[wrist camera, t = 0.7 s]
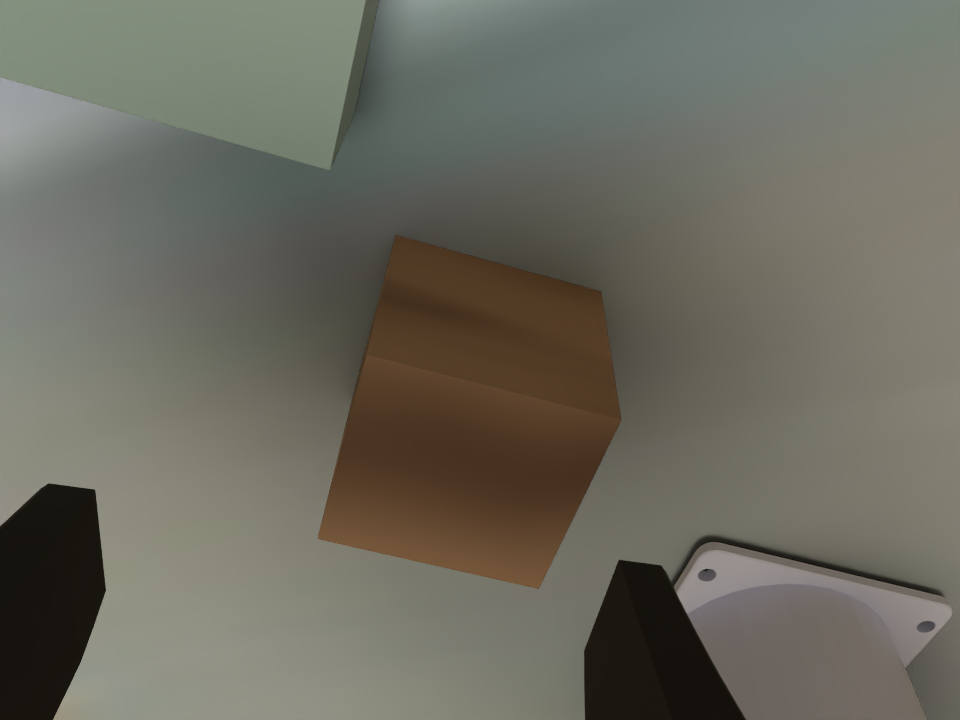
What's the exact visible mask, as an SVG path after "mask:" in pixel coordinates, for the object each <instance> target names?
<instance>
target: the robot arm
mask: <svg viewBox="0 0 960 720" xmlns="http://www.w3.org/2000/svg"><path fill="white" fill-rule="evenodd" d="M704 569H710V570H707V571H701V570H704ZM105 591H106V588H105V578H104V569H103V559H102V550H101V540H100V531H99V522H98V512H97V503H96V493H95V490H94V489H86V488H79V487H71V486H64V485H56V484H47V485H46V486H44V487H43V488H41V489H40V490H39V491H38V492H37V493H36V494H34V495H33V496H32V497H31V498H30V499H29V500H28V501H27V502H26V503H25V504H24V505H23V506H22V507H21V508H19V509H18V510H17V511H16V512H15V513H14V514H13V515H12V516H11V517H10V518H9V519H8V520H7V521H5V522H4V523H3V524H2V525H1V526H0V720H53V718H54V716H55V714H56V712H57V710H58V708H59V706H60V704H61V702H62V700H63V698H64V696H65V694H66V692H67V689H68V687H69V685H70V683H71V681H72V679H73V677H74V675H75V673H76V671H77V669H78V667H79V664H80V662H81V660H82V657H83V654H84V651H85V649H86V646H87V643H88V640H89V638H90V635H91V632H92V629H93V627H94V624H95V621H96V618H97V615H98V612H99V609H100V606H101V603H102V600H103V597H104V594H105ZM951 616H952V608H951V606H950V604H949V602H948V601H947V600H946V598H944V597H942V596H938V595H934V594H930V593H926V592H922V591H918V590H914V589H909V588H905V587H901V586H897V585H893V584H889V583H885V582H881V581H876V580H872V579H868V578H864V577H860V576H856V575H852V574H847V573H843V572H839V571H835V570H831V569H827V568H823V567H818V566H814V565H810V564H806V563H802V562H798V561H794V560H789V559H785V558H781V557H777V556H773V555H769V554H765V553H760V552H756V551H752V550H748V549H744V548H740V547H736V546H731V545H727V544H723V543H718V542H710V543H706V544H704V545H702V546H700V547H699V548H698V549H697V550H696V552H695V553H694V555H693V556H692V558H691V560H690V561H689V563H688V564H687V566H686V568H685V569H684V571H683V573H682V574H681V576H680V577H679V579H678V581H677V582H676V584H675V586H674V587H673V585H672V583H671V581H670V579H669V577H668V575H667V573H666V572H665V570H664V569H663V567H662V566H660V565H653V564H646V563H638V562H631V561H623V560H619V561H618V564H617V566H616V569H615V572H614V574H613V577H612V579H611V582H610V585H609V587H608V590H607V592H606V595H605V598H604V600H603V603H602V606H601V608H600V611H599V613H598V616H597V619H596V621H595V624H594V626H593V629H592V632H591V634H590V637H589V640H588V642H587V645H586V647H585V650H584V686H585V720H927V719H926V717H925V714H924V712H923V710H922V707H921V705H920V703H919V700H918V698H917V695H916V693H915V691H914V688H913V686H912V684H911V681H910V679H909V676H908V674H907V672H906V669H905V668H906V667H907V665H908V664H909V663H910V662H911V661H912V660H913V659H914V658H915V657H916V656H917V654H918V653H919V652H920V651H921V650H922V649H923V648H924V647H925V646H926V644H927V643H928V642H929V641H930V640H931V639H932V638H933V637H934V636H935V635H936V633H937V632H938V631H939V630H940V629H941V628H942V627H943V626H944V625H945V623H946V622H947V621H948V620H949V619H950V617H951Z"/></svg>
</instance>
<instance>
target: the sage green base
mask: <svg viewBox="0 0 960 720" xmlns="http://www.w3.org/2000/svg"><path fill="white" fill-rule="evenodd" d="M378 3H379V0H0V77H2V78H5V79H9V80H12V81H16V82H19V83H23V84H26V85H30V86H33V87H37V88H41V89H44V90H48V91H51V92H55V93H58V94H62V95H65V96H69V97H72V98H76V99H79V100H83V101H86V102H90V103H93V104H97V105H100V106H104V107H108V108H111V109H115V110H118V111H122V112H125V113H129V114H132V115H136V116H139V117H143V118H146V119H150V120H153V121H157V122H160V123H164V124H168V125H171V126H175V127H178V128H182V129H185V130H189V131H192V132H196V133H199V134H203V135H206V136H210V137H213V138H217V139H220V140H224V141H227V142H231V143H235V144H238V145H242V146H245V147H249V148H252V149H256V150H259V151H263V152H266V153H270V154H273V155H277V156H280V157H284V158H287V159H291V160H294V161H298V162H302V163H305V164H309V165H312V166H316V167H319V168H323V169H326V170H330V169H331V167H332V165H333V162H334V160H335V158H336V155H337V153H338V151H339V148H340V146H341V144H342V142H343V139H344V137H345V135H346V132H347V130H348V128H349V125H350V123H351V121H352V118H353V116H354V113H355V108H356V104H357V99H358V94H359V90H360V85H361V81H362V76H363V72H364V67H365V62H366V58H367V53H368V49H369V44H370V40H371V35H372V30H373V26H374V21H375V17H376V12H377V8H378Z"/></svg>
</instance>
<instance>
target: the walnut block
mask: <svg viewBox="0 0 960 720" xmlns="http://www.w3.org/2000/svg"><path fill="white" fill-rule="evenodd" d="M620 422H621V415H620V408H619V402H618V396H617V389H616V383H615V377H614V371H613V364H612V358H611V352H610V346H609V339H608V333H607V327H606V320H605V314H604V308H603V302H602V295H601V291H597V290H593V289H590V288H586V287H582V286H579V285H575V284H572V283H568V282H564V281H561V280H557V279H553V278H550V277H546V276H543V275H539V274H535V273H532V272H528V271H524V270H521V269H517V268H514V267H510V266H506V265H503V264H499V263H495V262H492V261H488V260H485V259H481V258H477V257H474V256H470V255H466V254H463V253H459V252H456V251H452V250H448V249H445V248H441V247H437V246H434V245H430V244H427V243H423V242H419V241H416V240H412V239H408V238H405V237H401V236H398V235H396V236H395V240H394V244H393V247H392V251H391V255H390V259H389V262H388V266H387V270H386V274H385V277H384V281H383V285H382V289H381V293H380V296H379V300H378V304H377V308H376V311H375V315H374V319H373V323H372V326H371V330H370V334H369V338H368V341H367V345H366V349H365V353H364V356H363V360H362V364H361V368H360V371H359V375H358V379H357V383H356V386H355V390H354V394H353V398H352V402H351V406H350V410H349V414H348V418H347V422H346V426H345V430H344V434H343V438H342V442H341V446H340V450H339V454H338V458H337V462H336V466H335V470H334V474H333V478H332V483H331V487H330V491H329V495H328V499H327V503H326V507H325V511H324V515H323V519H322V523H321V527H320V531H319V535H318V539H320V540H325V541H329V542H334V543H338V544H342V545H347V546H351V547H356V548H360V549H365V550H369V551H373V552H378V553H382V554H387V555H391V556H395V557H400V558H404V559H409V560H413V561H418V562H422V563H426V564H431V565H435V566H440V567H444V568H449V569H453V570H457V571H462V572H466V573H471V574H475V575H480V576H484V577H488V578H493V579H497V580H502V581H506V582H510V583H515V584H519V585H524V586H528V587H533V588H537V589H539V587H540V585H541V583H542V581H543V579H544V577H545V575H546V573H547V571H548V569H549V567H550V565H551V563H552V561H553V559H554V557H555V555H556V553H557V551H558V549H559V547H560V544H561V542H562V540H563V538H564V536H565V534H566V532H567V530H568V528H569V526H570V524H571V522H572V520H573V518H574V516H575V514H576V512H577V510H578V508H579V506H580V504H581V501H582V499H583V497H584V495H585V493H586V491H587V489H588V487H589V485H590V483H591V481H592V479H593V477H594V475H595V473H596V471H597V469H598V467H599V465H600V463H601V461H602V458H603V456H604V454H605V452H606V450H607V448H608V446H609V444H610V442H611V440H612V438H613V436H614V434H615V432H616V430H617V428H618V426H619V424H620Z"/></svg>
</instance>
